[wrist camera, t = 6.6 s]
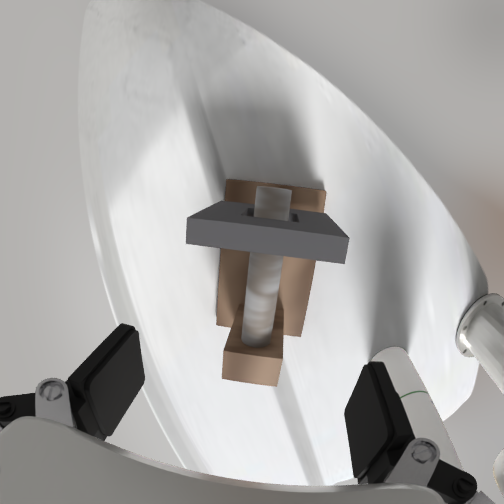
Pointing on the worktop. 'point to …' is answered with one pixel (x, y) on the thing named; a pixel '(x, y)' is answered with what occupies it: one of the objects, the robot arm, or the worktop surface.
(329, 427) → the worktop surface
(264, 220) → the dark grey square plate
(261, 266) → the pipe mount
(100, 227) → the worktop surface
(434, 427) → the cylindrical container
